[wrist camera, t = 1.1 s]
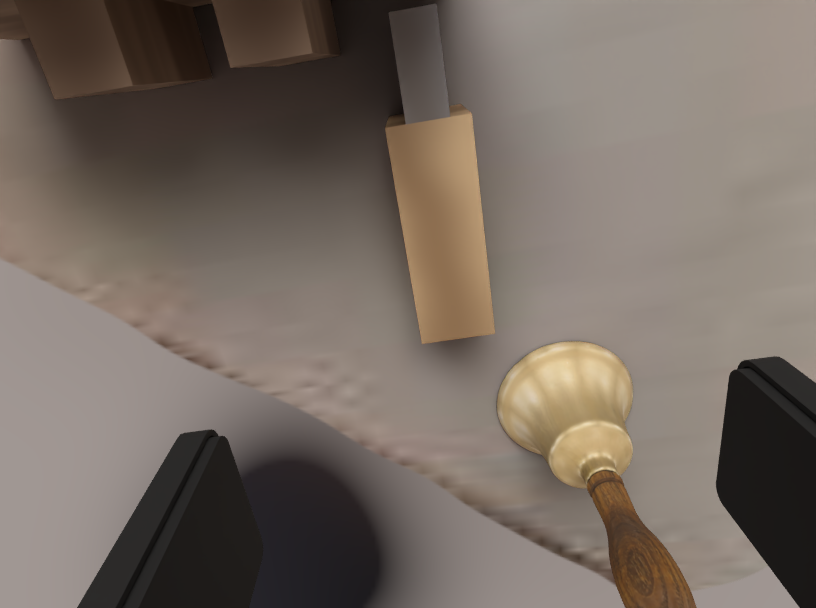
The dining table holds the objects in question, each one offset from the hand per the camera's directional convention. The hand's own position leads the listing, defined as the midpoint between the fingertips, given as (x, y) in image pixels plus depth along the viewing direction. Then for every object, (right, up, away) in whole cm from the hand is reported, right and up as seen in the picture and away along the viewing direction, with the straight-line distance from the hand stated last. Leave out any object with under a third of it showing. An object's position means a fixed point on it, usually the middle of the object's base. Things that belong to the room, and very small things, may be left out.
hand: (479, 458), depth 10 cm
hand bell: (+8, -3, +23) cm, 25 cm away
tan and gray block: (0, +10, +17) cm, 20 cm away
